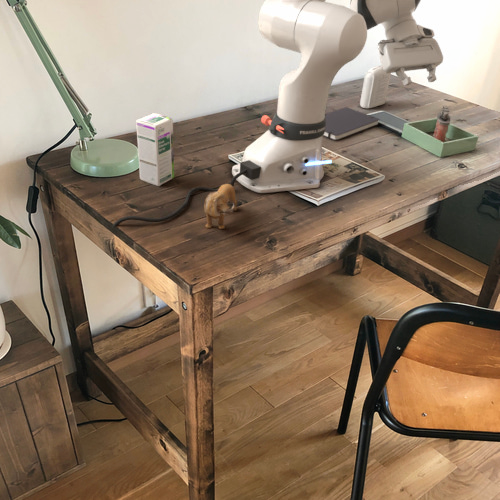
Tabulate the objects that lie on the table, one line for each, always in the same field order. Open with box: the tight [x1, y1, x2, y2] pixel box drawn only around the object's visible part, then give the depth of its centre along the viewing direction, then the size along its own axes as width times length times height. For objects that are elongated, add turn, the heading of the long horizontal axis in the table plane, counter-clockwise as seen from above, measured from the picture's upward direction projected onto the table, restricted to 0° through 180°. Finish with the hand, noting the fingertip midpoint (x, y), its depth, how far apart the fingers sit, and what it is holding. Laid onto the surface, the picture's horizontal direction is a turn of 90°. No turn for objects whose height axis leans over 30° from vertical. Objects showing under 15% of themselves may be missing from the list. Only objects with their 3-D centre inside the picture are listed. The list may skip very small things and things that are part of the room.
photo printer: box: [359, 65, 392, 110], centre depth 181 cm, size 10×4×12 cm, turn 134°
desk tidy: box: [401, 117, 479, 158], centre depth 160 cm, size 13×15×4 cm
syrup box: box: [135, 112, 175, 187], centre depth 128 cm, size 6×6×14 cm
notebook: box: [323, 106, 380, 141], centre depth 167 cm, size 13×2×21 cm
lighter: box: [431, 105, 451, 142], centre depth 158 cm, size 8×3×10 cm, turn 168°
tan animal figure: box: [203, 183, 238, 230], centre depth 116 cm, size 15×5×9 cm, turn 171°
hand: (420, 82), depth 161 cm, fingers open, 8 cm apart
